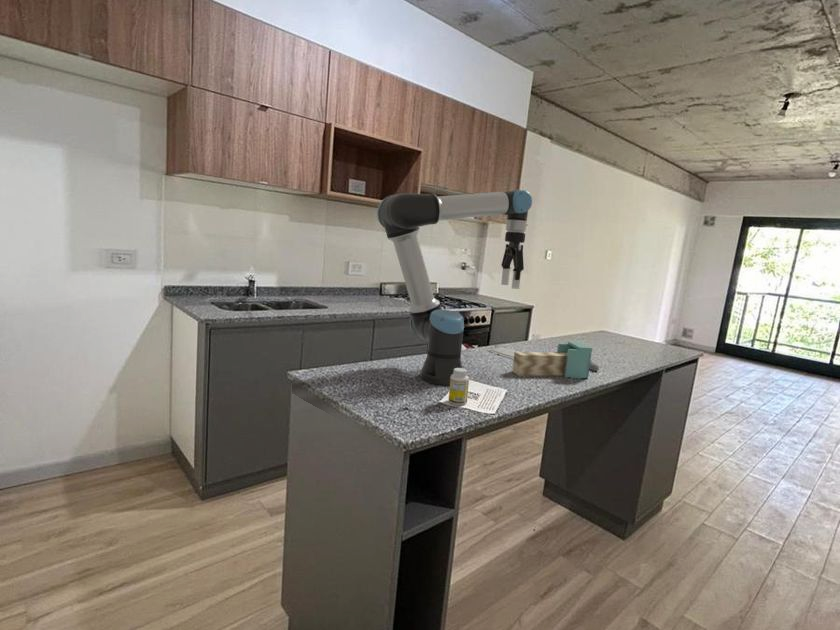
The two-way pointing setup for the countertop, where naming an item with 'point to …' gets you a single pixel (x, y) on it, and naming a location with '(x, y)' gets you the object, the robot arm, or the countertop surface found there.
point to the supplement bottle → (458, 387)
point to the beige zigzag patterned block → (539, 363)
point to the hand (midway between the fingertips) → (509, 286)
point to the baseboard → (504, 352)
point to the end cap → (576, 359)
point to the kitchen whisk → (593, 366)
